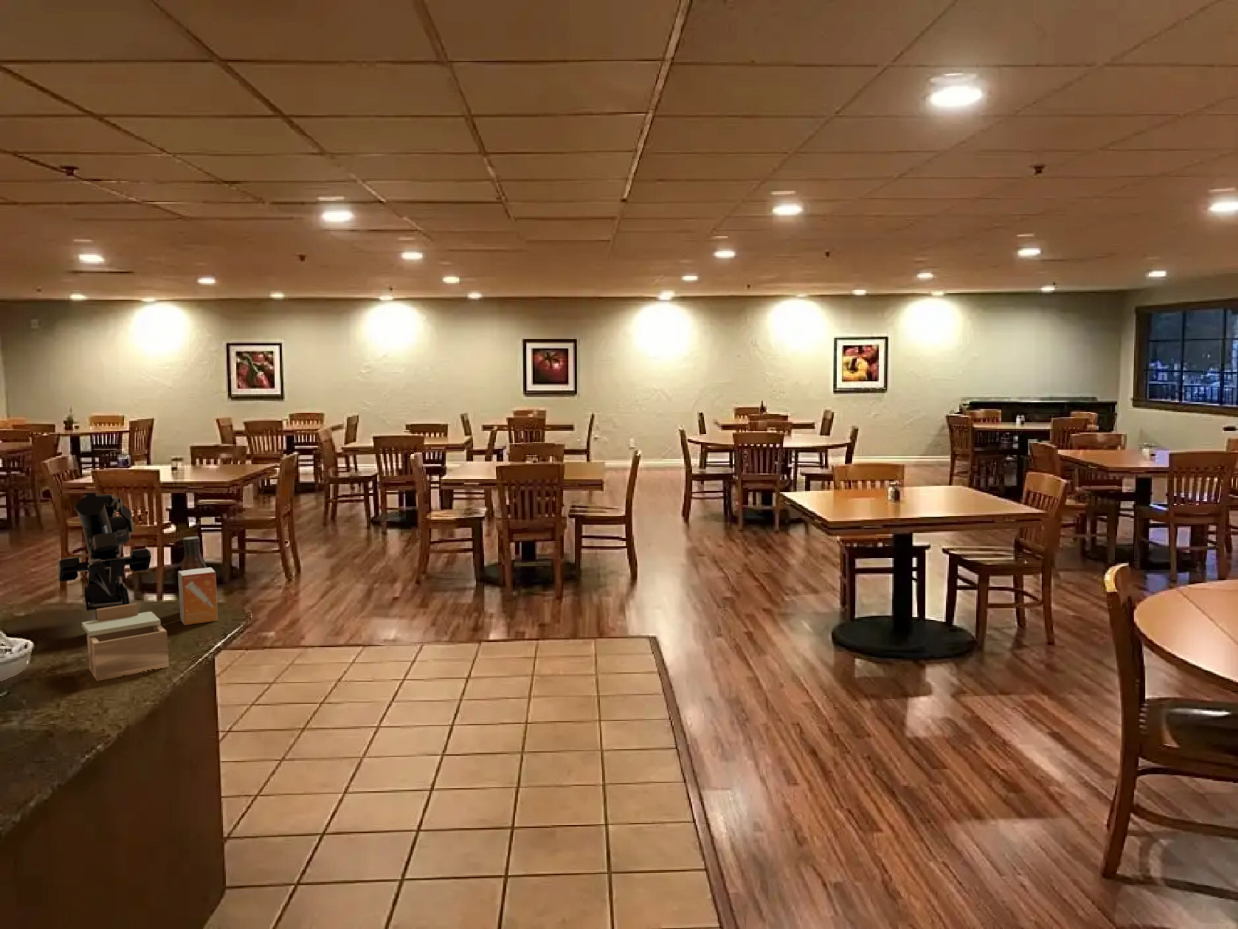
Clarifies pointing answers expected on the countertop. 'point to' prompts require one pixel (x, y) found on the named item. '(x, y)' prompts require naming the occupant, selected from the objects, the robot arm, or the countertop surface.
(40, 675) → the countertop surface
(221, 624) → the countertop surface
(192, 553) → the sauce bottle
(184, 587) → the small box
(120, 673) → the box
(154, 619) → the lid
